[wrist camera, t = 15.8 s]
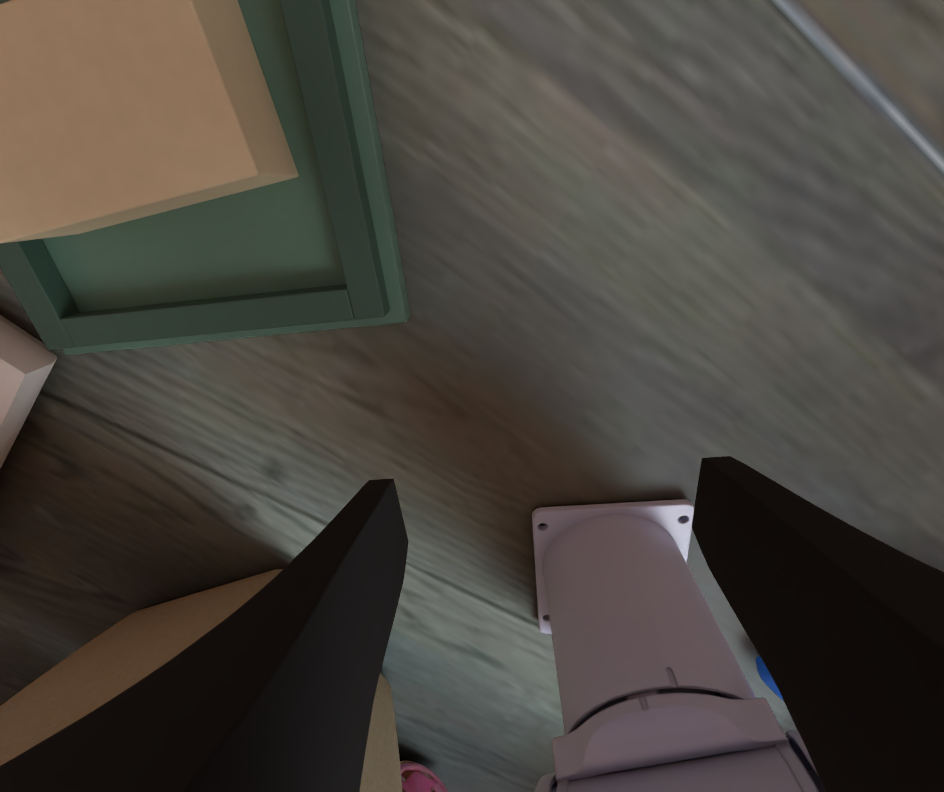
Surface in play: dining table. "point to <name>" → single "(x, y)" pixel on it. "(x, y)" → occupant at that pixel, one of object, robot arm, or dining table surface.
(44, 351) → the laptop
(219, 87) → the rectangular block
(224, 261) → the green square tray
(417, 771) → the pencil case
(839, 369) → the dining table surface
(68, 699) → the flower pot
